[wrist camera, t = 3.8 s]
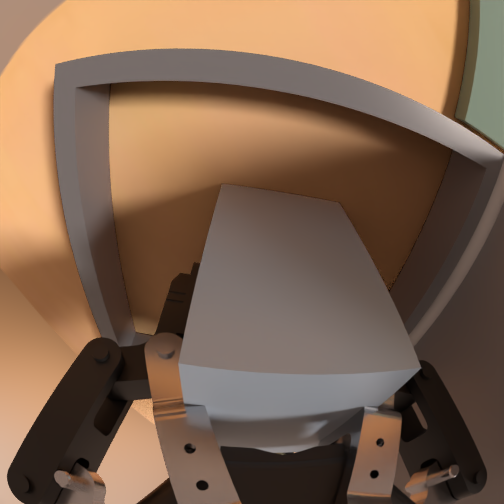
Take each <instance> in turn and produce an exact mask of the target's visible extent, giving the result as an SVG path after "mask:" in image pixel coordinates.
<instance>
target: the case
mask: <svg viewBox="0 0 504 504" xmlns="http://www.w3.org/2000/svg"><path fill="white" fill-rule="evenodd" d="M134 81H196V82H211V83H223V84H233V85H242V86H249V87H257V88H263V89H269V90H275V91H281V92H286V93H291V94H296V95H301V96H305V97H310V98H314V99H318V100H322V101H326V102H330V103H333V104H337V105H341V106H344V107H348V108H351V109H354V110H357V111H361V112H364V113H367V114H370V115H373V116H376V117H378V118H381V119H384V120H387V121H389V122H392V123H395V124H397V125H400V126H402V127H405V128H407V129H410V130H412V131H414V132H417V133H419V134H421V135H424V136H426V137H428V138H430V139H432V140H435V141H437V142H439V143H441V144H443V145H445V146H447V147H449V148H451V149H453V151H452V155H451V158H450V161H449V164H448V166H447V169H446V172H445V175H444V178H443V180H442V183H441V186H440V188H439V191H438V193H437V196H436V198H435V201H434V203H433V206H432V208H431V210H430V213H429V215H428V217H427V220H426V222H425V224H424V226H423V228H422V231H421V233H420V235H419V237H418V239H417V241H416V243H415V245H414V247H413V249H412V251H411V253H410V255H409V257H408V259H407V261H406V263H405V265H404V266H403V268H402V270H401V272H400V274H399V276H398V277H397V279H396V281H395V283H394V285H393V286H392V288H391V290H390V291H389V294H390V296H391V298H392V300H393V302H394V304H395V306H396V309H397V311H398V313H399V315H400V317H401V320H402V322H403V324H404V326H405V329H406V331H407V333H408V336H409V338H410V341H411V343H412V345H413V348H414V350H415V353H416V355H417V358H418V360H424V361H427V362H429V363H430V364H431V365H432V366H433V367H434V368H435V370H436V371H437V373H438V375H439V376H440V378H441V380H442V381H443V383H444V385H445V387H446V388H447V390H448V392H449V394H450V396H451V397H452V399H453V401H454V403H455V405H456V406H457V408H458V410H459V412H460V414H461V416H462V418H463V420H464V422H465V424H466V426H467V428H468V430H469V432H470V434H471V436H472V438H473V440H474V442H475V444H476V447H477V449H478V451H479V453H480V455H481V458H482V460H483V462H484V465H485V467H486V470H487V481H486V484H485V486H484V488H483V489H482V490H481V491H480V492H479V493H477V494H474V495H472V496H469V497H466V498H463V499H460V500H458V501H456V502H455V503H454V504H504V154H503V153H501V152H500V151H499V150H497V149H496V148H494V147H493V146H492V145H490V144H489V143H487V142H486V141H485V140H483V139H482V138H480V137H479V136H477V135H476V134H474V133H472V132H471V131H469V130H468V129H466V128H464V127H463V126H461V125H460V124H458V123H456V122H454V121H453V120H451V119H449V118H447V117H446V116H444V115H442V114H440V113H438V112H436V111H434V110H433V109H431V108H429V107H427V106H425V105H423V104H421V103H418V102H416V101H414V100H412V99H410V98H408V97H406V96H403V95H401V94H399V93H396V92H394V91H392V90H389V89H387V88H384V87H382V86H379V85H376V84H374V83H371V82H368V81H365V80H363V79H360V78H357V77H354V76H351V75H347V74H344V73H341V72H338V71H334V70H331V69H327V68H323V67H320V66H316V65H312V64H307V63H303V62H299V61H294V60H289V59H284V58H278V57H273V56H267V55H260V54H253V53H245V52H236V51H225V50H210V49H151V50H137V51H126V52H118V53H110V54H103V55H97V56H91V57H86V58H81V59H76V60H71V61H67V62H63V63H59V64H55V78H54V138H55V152H56V163H57V172H58V179H59V187H60V193H61V199H62V205H63V210H64V216H65V221H66V225H67V230H68V234H69V239H70V243H71V247H72V251H73V254H74V258H75V262H76V265H77V269H78V272H79V275H80V279H81V282H82V285H83V288H84V291H85V294H86V297H87V300H88V303H89V306H90V308H91V311H92V314H93V316H94V319H95V321H96V324H97V327H98V329H99V331H100V334H101V336H102V337H104V338H109V339H112V340H113V341H115V342H116V343H117V344H118V345H119V347H123V346H135V345H140V344H143V343H145V342H147V341H148V340H149V339H150V338H151V337H152V336H151V335H146V334H141V333H136V331H135V328H134V324H133V320H132V316H131V312H130V308H129V303H128V299H127V294H126V290H125V285H124V280H123V275H122V270H121V264H120V258H119V252H118V246H117V239H116V232H115V224H114V216H113V207H112V197H111V184H110V168H109V96H110V83H118V82H134ZM412 407H413V409H414V411H415V413H416V415H417V417H418V419H419V421H420V423H421V425H422V426H423V428H425V429H427V423H426V421H425V419H424V417H423V415H422V413H421V411H420V409H419V407H418V405H417V403H416V402H415V403H414V404H412ZM410 479H411V478H410V476H409V473H408V471H407V469H406V466H405V464H404V462H403V460H402V457H401V455H400V453H399V451H398V459H397V465H396V471H395V477H394V483H393V484H394V485H395V486H396V487H398V488H399V489H400V490H401V491H402V492H403V493H404V494H406V495H407V496H408V497H409V498H410V496H411V494H410V493H408V492H406V490H405V486H406V484H407V483H408V482H409V481H410Z"/></svg>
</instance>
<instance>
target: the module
mask: <svg viewBox="0 0 504 504" xmlns="http://www.w3.org/2000/svg"><path fill="white" fill-rule="evenodd" d="M178 365H179V373H180V380H181V388H182V394H183V401H184V405H204V406H205V407H206V410H207V413H208V416H209V419H210V422H211V425H212V428H213V431H214V434H215V437H216V440H217V443H218V446H219V449H220V447H221V446H229V447H245V448H256V449H260V450H264V451H268V452H272V453H286V452H300V451H303V450H306V449H309V448H312V447H316V446H318V444H319V442H320V440H322V439H323V438H325V437H326V436H327V435H329V434H330V433H332V432H333V431H334V430H336V429H337V428H338V427H340V426H341V425H342V424H344V423H345V422H346V421H347V420H349V419H350V418H351V417H352V416H354V415H355V414H356V413H357V412H359V411H360V410H361V409H362V408H363V407H366V406H375V407H379V406H380V405H381V404H382V403H383V402H385V401H386V400H387V399H388V398H389V397H391V396H392V395H393V394H394V393H395V392H396V391H397V390H398V389H400V388H401V387H402V386H403V385H404V384H405V383H406V382H407V381H408V380H409V379H410V378H411V377H412V376H413V375H414V374H416V373H417V372H418V371H419V370H420V369H421V366H420V363H419V360H418V358H417V355H416V353H415V350H414V348H413V345H412V343H411V341H410V338H409V336H408V333H407V331H406V329H405V326H404V324H403V322H402V320H401V317H400V315H399V313H398V311H397V309H396V306H395V304H394V302H393V300H392V298H391V296H390V294H389V292H388V290H387V288H386V286H385V284H384V282H383V280H382V278H381V276H380V274H379V272H378V270H377V268H376V266H375V264H374V262H373V260H372V259H371V257H370V255H369V253H368V251H367V249H366V247H365V246H364V244H363V242H362V240H361V239H360V237H359V235H358V233H357V232H356V230H355V228H354V226H353V225H352V223H351V221H350V220H349V218H348V216H347V215H346V213H345V211H344V210H343V208H342V206H341V205H340V203H339V202H334V201H329V200H324V199H318V198H313V197H307V196H302V195H296V194H290V193H284V192H278V191H272V190H265V189H258V188H251V187H244V186H237V185H229V184H222V185H221V189H220V192H219V196H218V199H217V203H216V206H215V210H214V214H213V217H212V221H211V225H210V228H209V232H208V236H207V240H206V244H205V248H204V251H203V255H202V259H201V263H200V267H199V272H198V276H197V280H196V284H195V288H194V292H193V297H192V301H191V305H190V310H189V314H188V319H187V324H186V328H185V333H184V338H183V342H182V347H181V352H180V357H179V362H178Z"/></svg>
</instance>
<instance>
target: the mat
mask: <svg viewBox="0 0 504 504" xmlns="http://www.w3.org/2000/svg"><path fill="white" fill-rule="evenodd" d="M455 118H457V119H459V120H460V121H462V122H464V123H465V124H467V125H468V126H470V127H472V128H473V129H475V130H476V131H478V132H479V133H481V134H482V135H484V136H485V137H486V138H488V139H489V140H491V141H492V142H493V143H495V144H496V145H497V146H499V147H500V148H501V149H503V150H504V0H470V17H469V34H468V45H467V53H466V61H465V68H464V74H463V80H462V85H461V90H460V95H459V100H458V104H457V108H456V113H455Z"/></svg>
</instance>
